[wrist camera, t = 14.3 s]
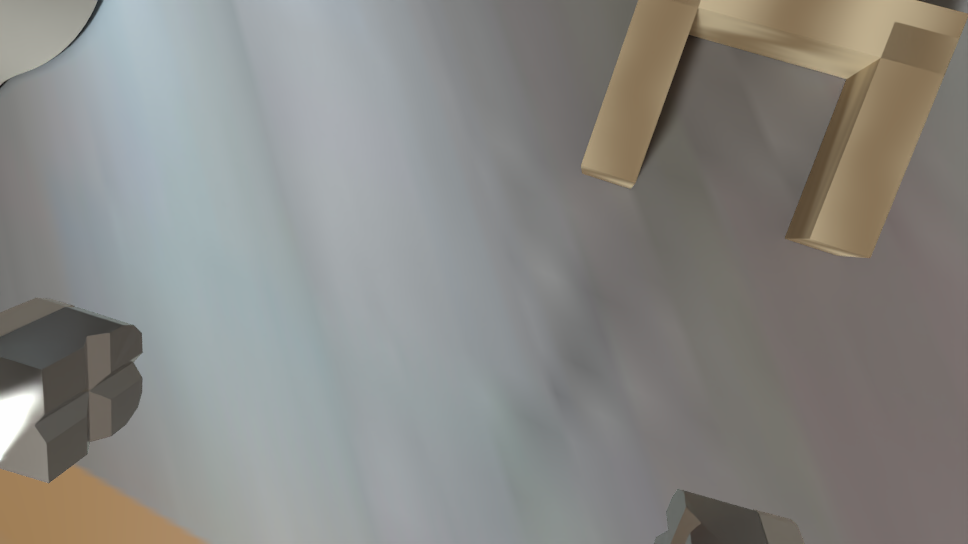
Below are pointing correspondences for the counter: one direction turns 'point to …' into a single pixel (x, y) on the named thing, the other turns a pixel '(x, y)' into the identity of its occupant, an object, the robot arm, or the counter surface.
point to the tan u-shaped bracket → (811, 44)
